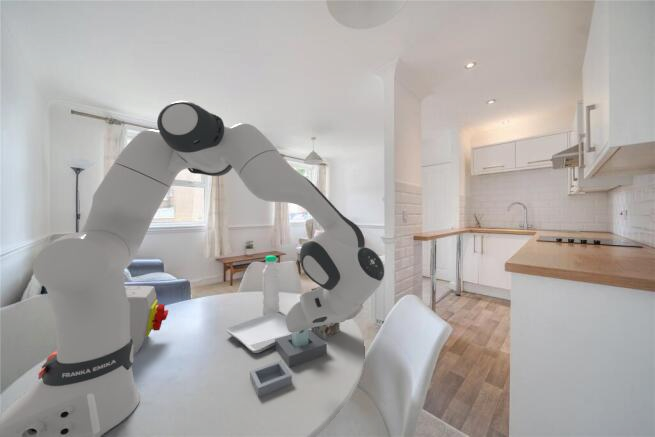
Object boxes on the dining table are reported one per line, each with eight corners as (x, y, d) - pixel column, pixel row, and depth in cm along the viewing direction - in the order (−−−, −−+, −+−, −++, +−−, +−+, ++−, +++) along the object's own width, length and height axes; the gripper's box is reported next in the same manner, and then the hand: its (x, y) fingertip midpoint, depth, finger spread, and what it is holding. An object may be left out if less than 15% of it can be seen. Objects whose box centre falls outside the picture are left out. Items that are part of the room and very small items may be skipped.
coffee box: (324, 339, 80) (324, 292, 80) (310, 334, 84) (310, 289, 84) (340, 330, 88) (340, 286, 88) (326, 325, 92) (326, 283, 92)
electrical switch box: (157, 357, 74) (168, 293, 76) (94, 364, 67) (107, 293, 69) (164, 337, 87) (173, 282, 89) (112, 340, 80) (123, 281, 82)
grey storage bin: (258, 401, 53) (258, 388, 53) (250, 382, 59) (249, 370, 59) (291, 387, 58) (291, 375, 58) (280, 371, 64) (280, 360, 64)
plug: (296, 359, 69) (296, 322, 69) (292, 354, 72) (291, 318, 72) (308, 355, 72) (308, 319, 72) (303, 350, 74) (303, 316, 74)
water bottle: (261, 311, 106) (261, 255, 106) (277, 308, 109) (276, 254, 109) (264, 317, 99) (264, 257, 99) (280, 314, 102) (280, 256, 102)
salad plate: (224, 337, 83) (224, 327, 83) (275, 318, 99) (275, 310, 99) (253, 362, 69) (253, 350, 69) (309, 336, 84) (309, 326, 84)
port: (289, 371, 64) (289, 354, 64) (275, 351, 73) (275, 337, 73) (326, 357, 70) (326, 341, 70) (309, 341, 80) (309, 327, 80)
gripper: (363, 285, 64) (340, 309, 72) (295, 294, 53) (276, 322, 60) (375, 307, 60) (349, 330, 68) (303, 322, 49) (282, 348, 57)
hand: (314, 326), depth 64 cm, fingers open, 8 cm apart
